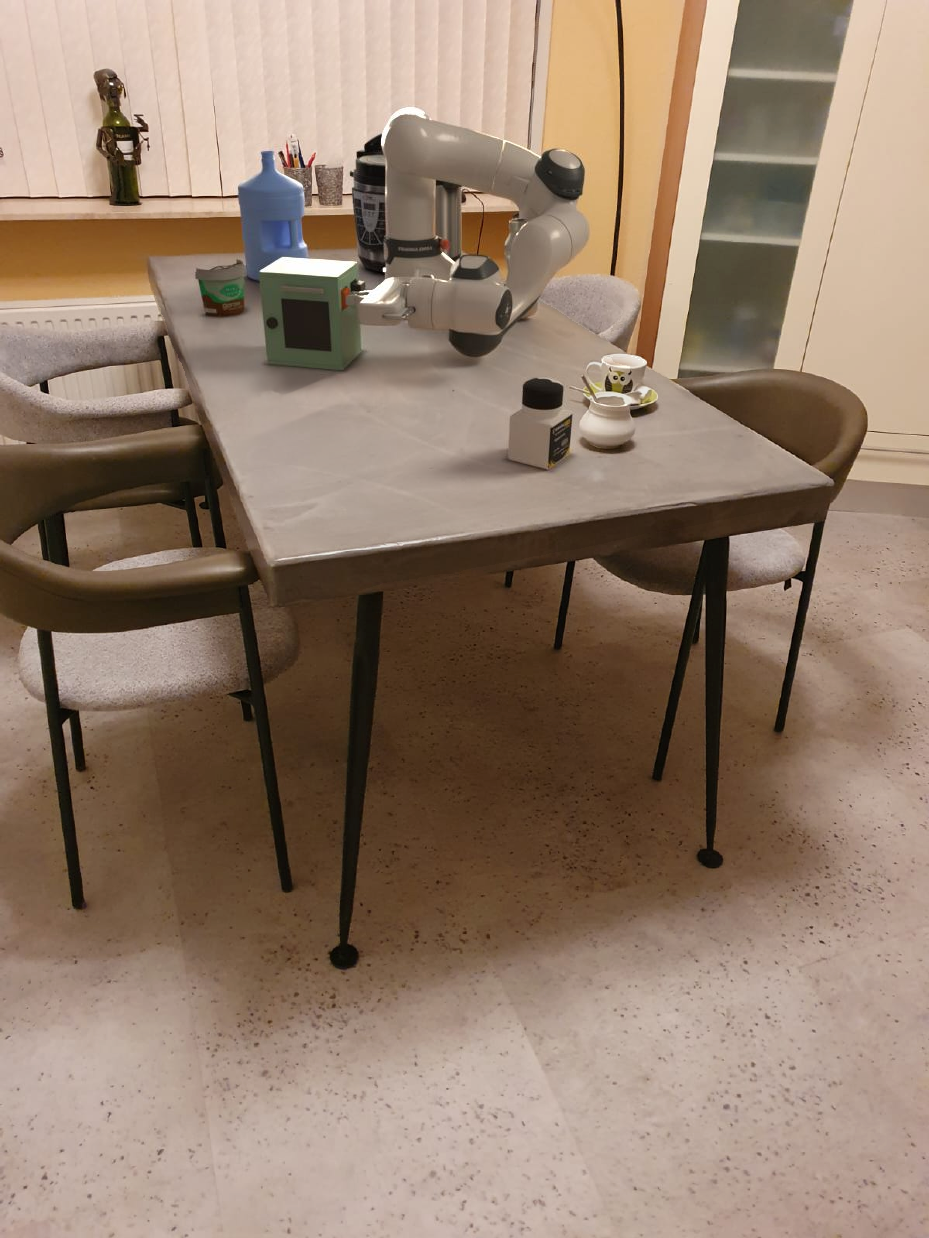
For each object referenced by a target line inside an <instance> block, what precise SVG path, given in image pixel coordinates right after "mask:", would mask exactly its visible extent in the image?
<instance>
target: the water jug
mask: <svg viewBox="0 0 929 1238" xmlns="http://www.w3.org/2000/svg"><path fill="white" fill-rule="evenodd" d="M260 154H261V161H260V162H261V167H262V168H261V171H259V172H258V173H256V174H254V175H252V176H251V177H249V178H247V179H246V180H244V181H242V182H240V183H239V184H238V186H237V199H238V205H239V213H240V214H239V215H240V222H241V237H242V242H243V251H244V261H245V264H244V265H245V268H246V272H247V273H246V276H247V277H248V278H249V279H252V280H253V281H257V282H259V271H260V270H262V269H264V268H265V267H267V266H268V265H270V264H272V263H273V262H275V261H277V260H278V259H280V258H282V257H290V258H305V259H309V253H308V252H309V251H308V244H306V243H305V241H304V237H303V225H302V218H304V216H305V215H306V209H305V208H306V207H305V203H306V201H305V199H306V198H305V192H304V186H303V184H302V183H301V182H299V181H297V180H296V179H294V178H291V177H289V176H288V175H285V174H284V173H282V172H280V171H278V170H277V169H276V158H275V151H273V150H262V151H260Z"/></svg>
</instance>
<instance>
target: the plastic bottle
mask: <svg viewBox="0 0 929 1238" xmlns="http://www.w3.org/2000/svg"><path fill="white" fill-rule="evenodd" d="M525 224H526V219H513V218H512V219H509V220H508V231H509V234H508V236H507V238H506V239H505V241H504V245H503V252H504V257H505V262H506V268H507V269H508V266H509V257H510V250H511V245H512V242H513V239H514V237H515V235H516V234H517V233H518V231H519V230H520V229H521V228H522V227H523V226H524V225H525ZM537 311H538V301H537V302H536V303H535V305H534V306H533V307H532V308H531V309H530V310H529V311H528V312H527V313H526V314H525V315H524V316H523V317H522V318H521V319H524V318H529V317H532V316H535V315H536V313H537Z"/></svg>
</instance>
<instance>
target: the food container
mask: <svg viewBox="0 0 929 1238" xmlns="http://www.w3.org/2000/svg"><path fill="white" fill-rule="evenodd" d="M235 261H236V262H235V263H233V264H228V265H217V266H214V267H212V268H210V269H202V268H198V267H197V268H195V274H194V279H195V280H197V281H198V286H199V290H200V295H201V299H202V305H203V309H204V314H205V316H208V317H216V318H224V317H234V316H238V315H240V314H243V313H244V312H245V276H247V274H246V273H247V272H246V268H245V265H246V264H244V262H243V261H242V260H241V259H238V258H237V259H236V260H235Z"/></svg>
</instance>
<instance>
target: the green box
mask: <svg viewBox="0 0 929 1238" xmlns="http://www.w3.org/2000/svg"><path fill="white" fill-rule="evenodd" d="M352 281H360V280H359V263H358V261H348V260H336V259H335V260H333V259H321V258H320V259H318V258H308V259H305V258H290V257H282V258H280V259H278V260H277V261H275V262H273V263H272V264H270V265H268V266H267V267H265V268H264V269H262V270H260V271H259V281H258V282H259V291H260V300H261V312H262V323H263V332H264V343H265V354H266V363H267V364H266V365H277V366H285V367H287V366H289V367H300V368H309V369H310V368H311V369H322V370H332V371H333V370H334V371H344V370H345V369H346V368H347V367H348V366H349V365H350V364H351V362H353V361H354V359H355V358H357V357H358V355H360V354H361V353H362V332H361V331H362V329H361V327H362V326H361V324H360V323H358V319H357V307H356V306H350V305H349V306H348V307H347V308H346V309H342V302H341V290H342V289H343V288H350V283H351V282H352ZM350 292H351V289H350Z"/></svg>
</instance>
